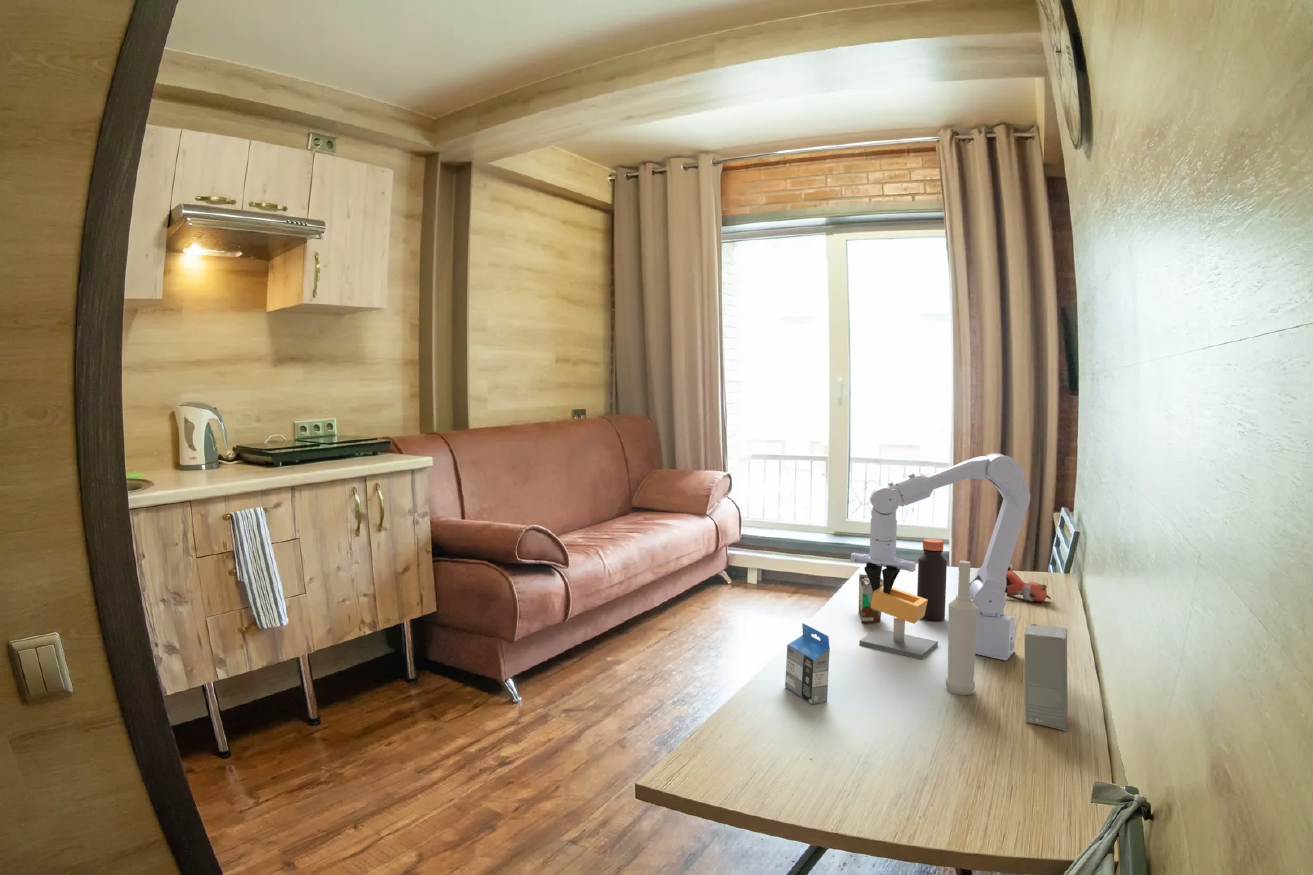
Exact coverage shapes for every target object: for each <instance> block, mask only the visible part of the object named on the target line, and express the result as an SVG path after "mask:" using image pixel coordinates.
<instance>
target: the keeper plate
mask: <svg viewBox="0 0 1313 875" xmlns="http://www.w3.org/2000/svg"><path fill="white" fill-rule="evenodd" d="M905 624H906V621H905V620H902V619H900V618H897V617H893V631H891V630H887V629H881V628H876V629H875V630H873V631H872V632H870V633H868V634H867V635H865V636H864V637H863V638H860V639H859V645H860V646H862V647H863V646H864V647H867V648H872V649H876V650H880V651H885V652H889V653H892V654H898V655H901V656H906V657H911V658H914V659H919V660H923V659H924V658H925V657H927V656H929V654H930V653H931V652H932V651H933V650H935V649H936V648H937V647H938V646H939V644H938V643H939V641H938V640H933V639H927V638H924V637H919V636H914V635H910V634H905V630H906V629H905V628H906V625H905Z"/></svg>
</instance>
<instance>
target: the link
mask: <svg viewBox="0 0 1313 875" xmlns="http://www.w3.org/2000/svg"><path fill="white" fill-rule="evenodd" d="M883 587H884V586H882V587H880V588H879V589H877V590H875V591H874V593H873V597H872V602H871V607H870V608H873V609H876V610H878V611H881V613H884V614H887V615H889V616H891V617H893V618H900V619H902V620H905V622H908V623H910V624H915V623H917V622H918V621H919V620H922V619H921V618H923V617H924V615H925V611H926V606H927V601H928V600H927V599H925V598H922V597H919V596H917V594H913V593H910V592H907V591H904V590H902V589H899V588H895V587H893V586H892V589H891V592H890V595H889V594H887V593H884V592H883Z"/></svg>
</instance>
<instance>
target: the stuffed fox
mask: <svg viewBox="0 0 1313 875" xmlns="http://www.w3.org/2000/svg"><path fill="white" fill-rule="evenodd" d="M1047 587H1048V586H1047V585H1046V584H1040V583H1039V582H1035V581H1029V582H1025V581H1023V580H1022V579H1021V578H1020V576H1019V575H1018V574H1017V573H1016V572H1014V563H1010V564H1009V567H1008V570H1007V573H1006V589H1005V594H1006V595H1007V596H1022V597H1023V600H1024V601H1025V602H1028V603H1029V602H1030V603H1032V602H1035V601H1036V602H1038V603H1042V602H1044V601H1045V600H1046V599H1049V600H1052V598H1051V596H1049V595H1048V592H1047Z"/></svg>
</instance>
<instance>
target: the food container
mask: <svg viewBox="0 0 1313 875" xmlns="http://www.w3.org/2000/svg"><path fill="white" fill-rule="evenodd" d="M858 575H859V576H858V615H859V618H860V623H861V625H873V624H878V623H880V622H881V617H882V612H881V611H878V610H876V609H873V608H870V607H871V602H872V597H873V591H872V587H871V583H870V581H869V578H868V576H867V574H861V573H860V574H858ZM882 586H884V584H883V578H880V587H882Z"/></svg>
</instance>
